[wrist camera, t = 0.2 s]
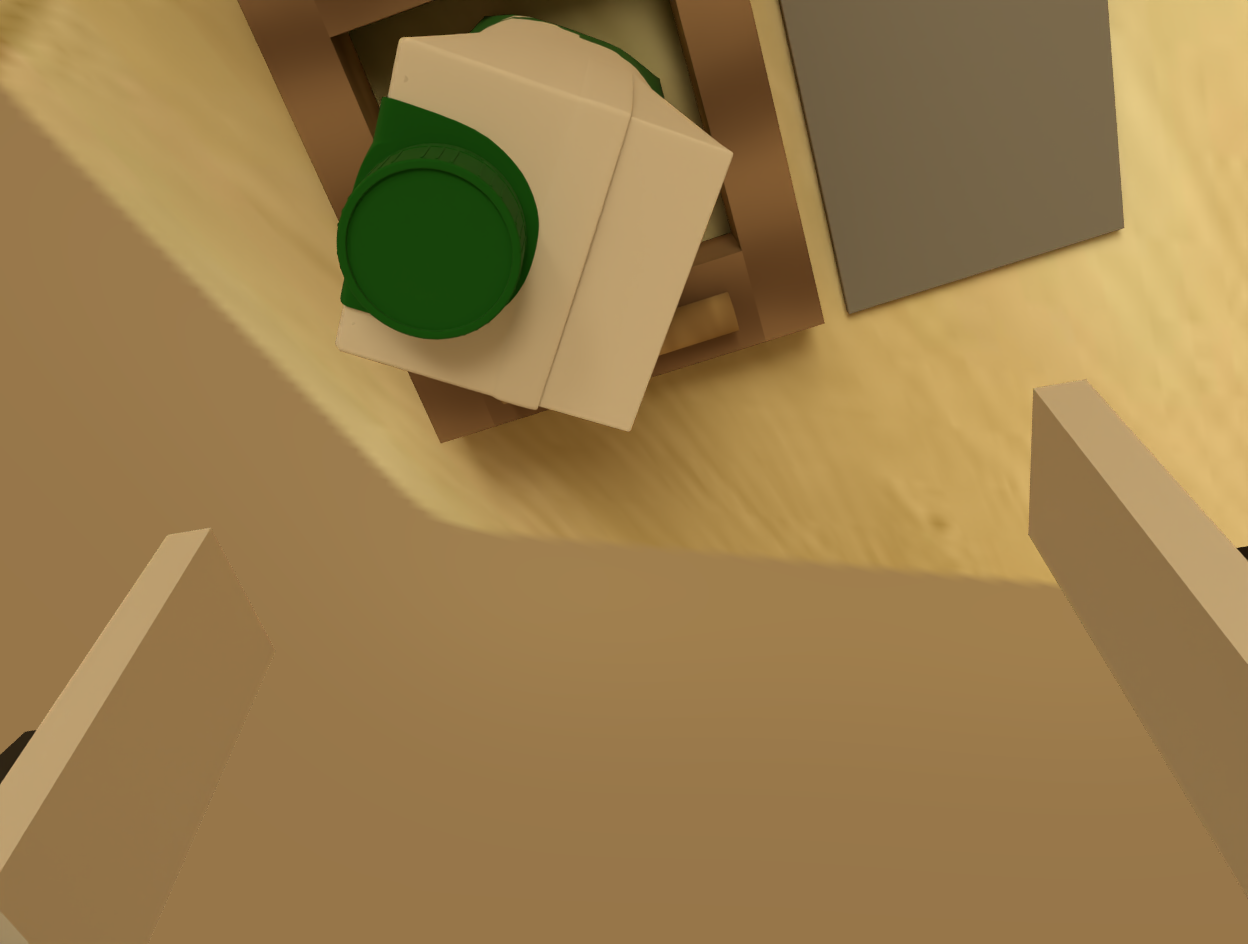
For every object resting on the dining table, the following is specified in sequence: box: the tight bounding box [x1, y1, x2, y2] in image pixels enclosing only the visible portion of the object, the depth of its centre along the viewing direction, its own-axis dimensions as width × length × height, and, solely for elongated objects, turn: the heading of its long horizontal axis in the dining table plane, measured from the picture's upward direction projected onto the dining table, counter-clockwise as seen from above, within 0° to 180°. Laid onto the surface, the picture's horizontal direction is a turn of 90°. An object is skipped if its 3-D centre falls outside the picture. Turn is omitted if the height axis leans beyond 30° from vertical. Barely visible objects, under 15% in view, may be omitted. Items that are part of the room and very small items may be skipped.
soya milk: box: [336, 15, 733, 432], centre depth 30 cm, size 9×9×20 cm
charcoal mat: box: [779, 0, 1124, 314], centre depth 39 cm, size 14×12×1 cm
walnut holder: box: [238, 0, 824, 443], centre depth 37 cm, size 20×17×5 cm
